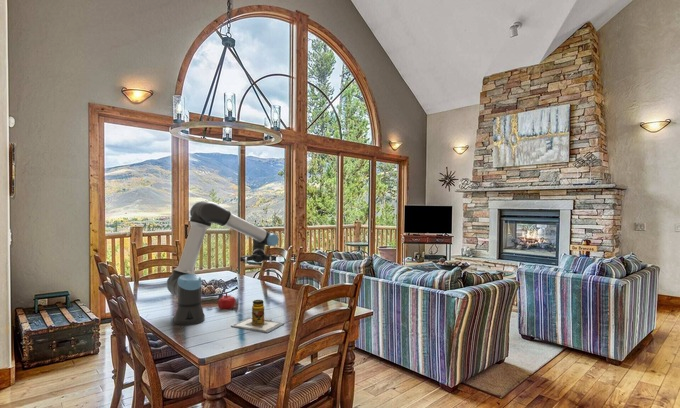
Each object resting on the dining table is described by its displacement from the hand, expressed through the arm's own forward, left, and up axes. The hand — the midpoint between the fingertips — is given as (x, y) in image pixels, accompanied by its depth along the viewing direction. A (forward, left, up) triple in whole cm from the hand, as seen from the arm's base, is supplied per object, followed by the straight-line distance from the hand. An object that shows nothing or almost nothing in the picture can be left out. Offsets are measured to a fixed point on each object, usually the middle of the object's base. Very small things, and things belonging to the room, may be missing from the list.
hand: (258, 261), depth 216 cm
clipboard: (+11, -15, -30) cm, 35 cm away
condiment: (+11, -16, -29) cm, 35 cm away
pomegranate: (-24, +3, -30) cm, 39 cm away
